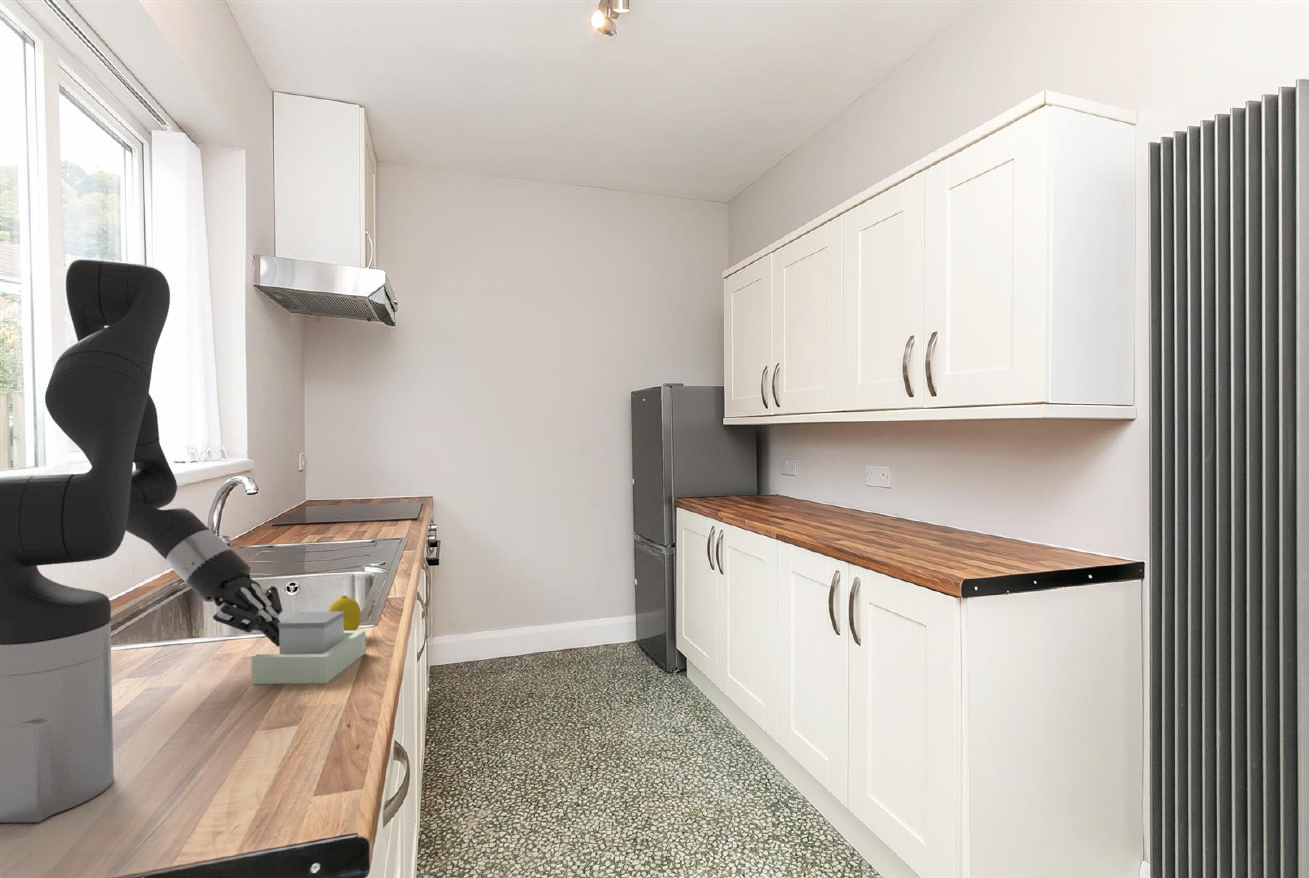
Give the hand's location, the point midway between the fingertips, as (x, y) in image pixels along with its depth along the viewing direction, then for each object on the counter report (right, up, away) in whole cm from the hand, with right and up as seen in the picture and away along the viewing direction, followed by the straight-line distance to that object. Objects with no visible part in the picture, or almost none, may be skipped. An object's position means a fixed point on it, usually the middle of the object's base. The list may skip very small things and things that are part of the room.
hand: (286, 641), depth 99 cm
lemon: (+2, -4, +14) cm, 15 cm away
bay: (+4, -4, 0) cm, 6 cm away
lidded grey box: (+4, -4, 0) cm, 6 cm away
